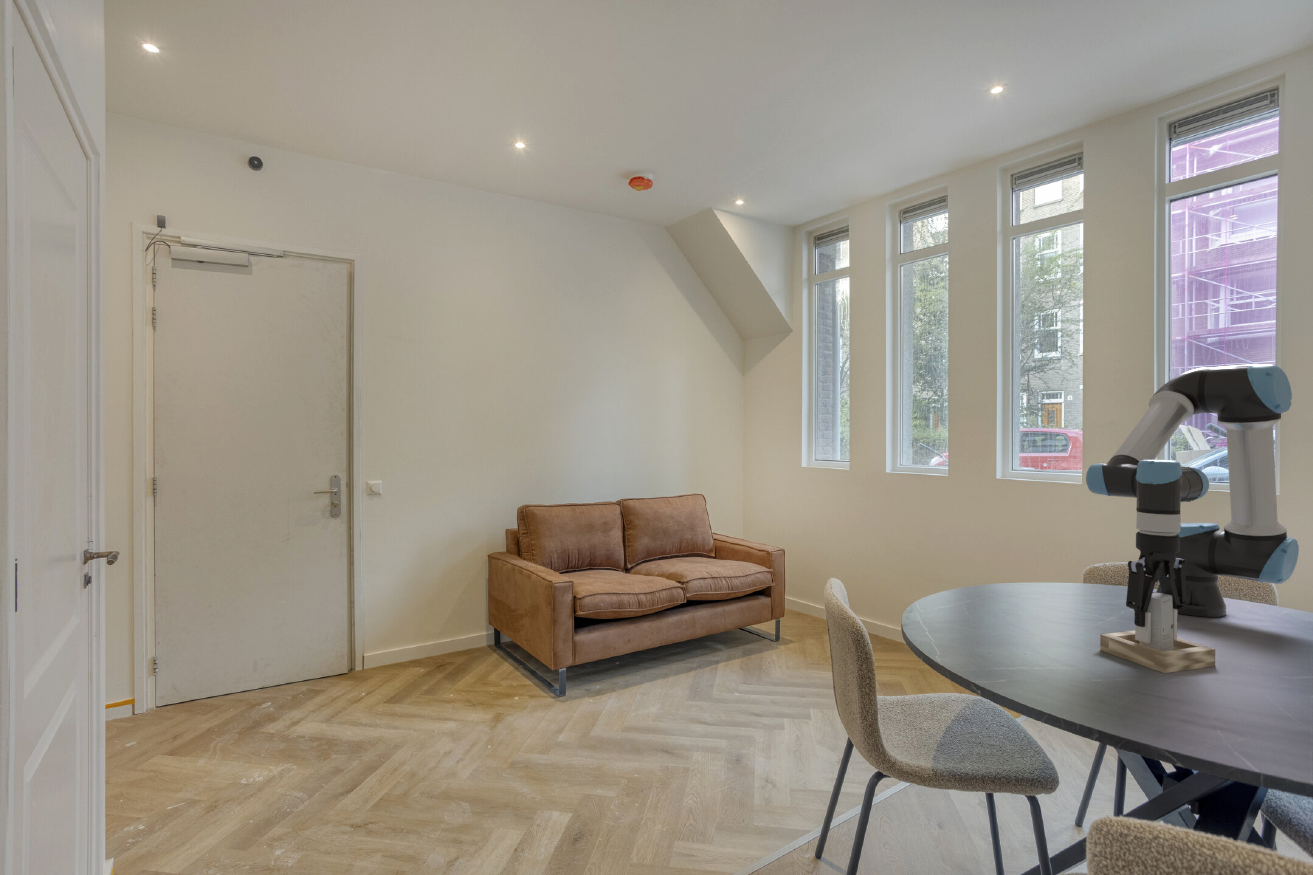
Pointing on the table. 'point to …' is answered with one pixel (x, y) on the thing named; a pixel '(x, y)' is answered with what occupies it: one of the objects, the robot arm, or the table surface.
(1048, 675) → the table surface
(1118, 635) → the holder
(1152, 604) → the skincare box
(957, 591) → the table surface
